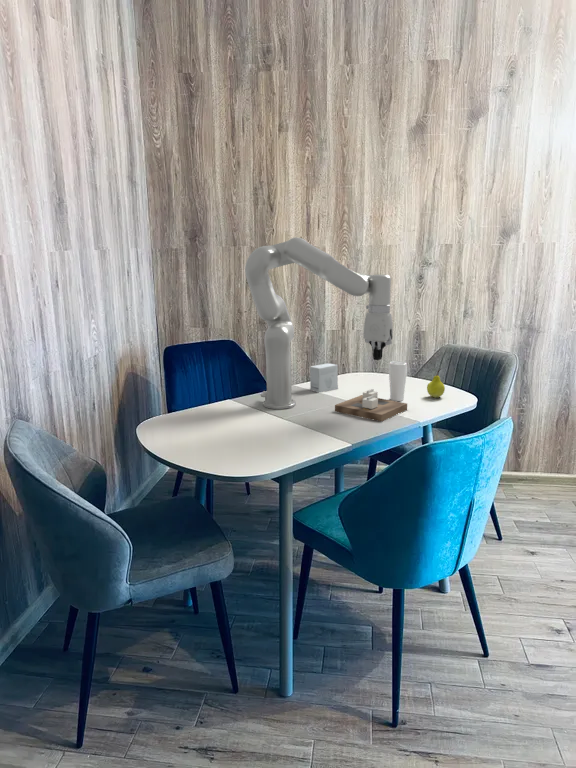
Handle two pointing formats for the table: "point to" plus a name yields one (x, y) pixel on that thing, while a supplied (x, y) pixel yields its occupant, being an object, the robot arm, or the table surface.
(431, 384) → the fruit
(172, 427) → the table surface
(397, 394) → the drinking glass
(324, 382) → the skincare box
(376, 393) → the tab
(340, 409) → the switch board
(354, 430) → the table surface
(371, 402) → the front tab
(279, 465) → the table surface
